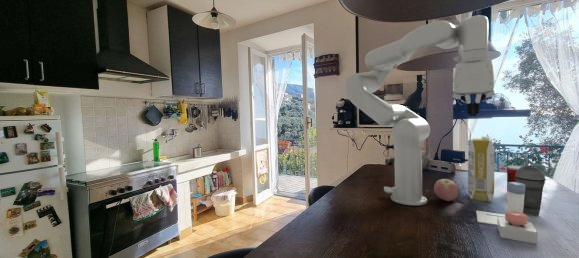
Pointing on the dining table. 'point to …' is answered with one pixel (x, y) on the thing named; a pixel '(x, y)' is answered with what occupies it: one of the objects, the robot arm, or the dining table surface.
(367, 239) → the dining table surface
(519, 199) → the marker
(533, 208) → the beverage cup
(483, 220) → the paper
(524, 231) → the button box
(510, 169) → the canned food
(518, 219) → the button
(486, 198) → the juice carton
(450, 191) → the apple
